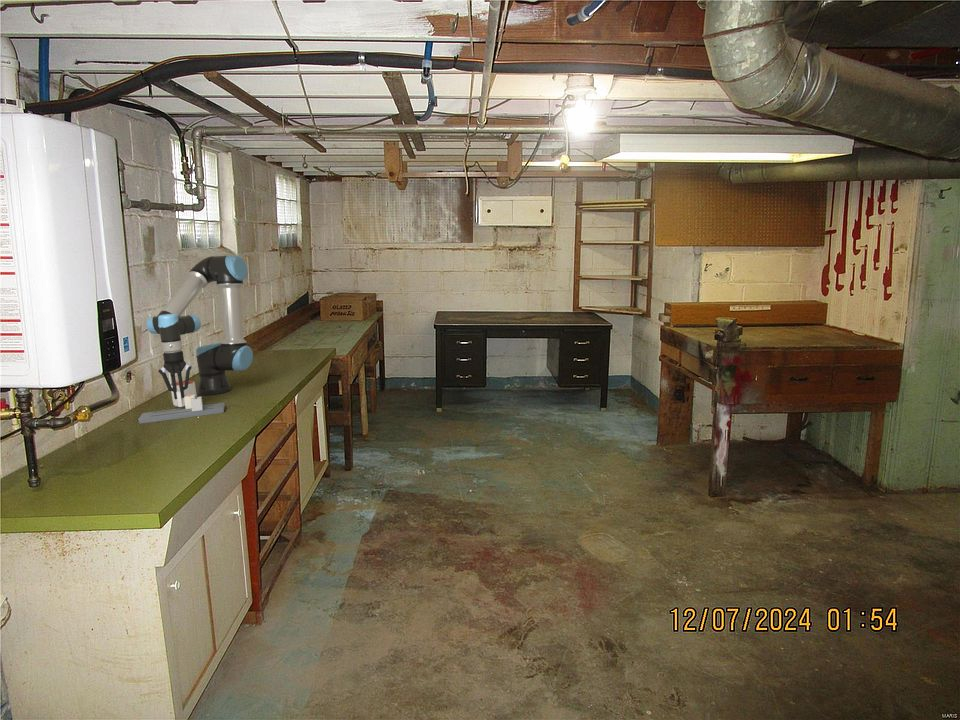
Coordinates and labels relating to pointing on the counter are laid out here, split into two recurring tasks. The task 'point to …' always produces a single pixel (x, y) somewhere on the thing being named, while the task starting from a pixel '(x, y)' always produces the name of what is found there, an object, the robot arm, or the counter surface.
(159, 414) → the console
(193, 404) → the fader
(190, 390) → the cup
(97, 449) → the counter surface
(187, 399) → the fader
